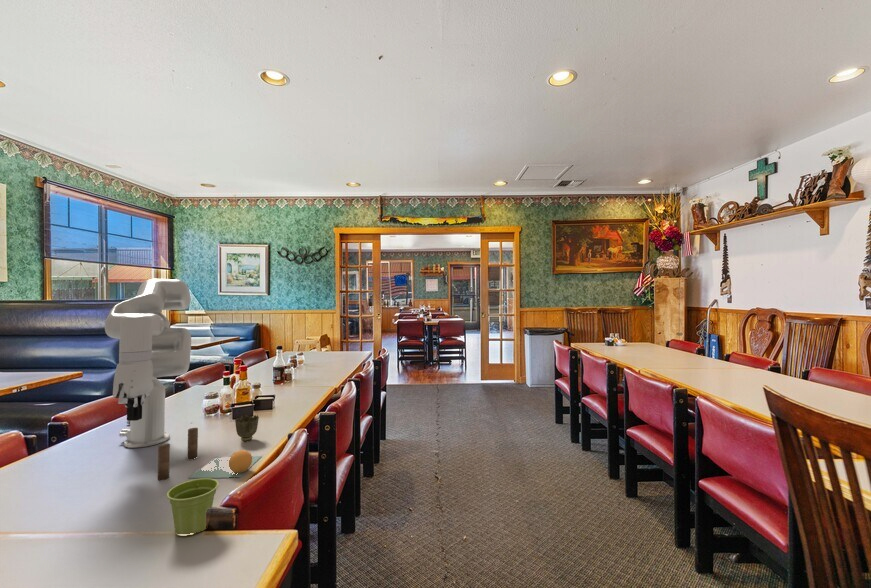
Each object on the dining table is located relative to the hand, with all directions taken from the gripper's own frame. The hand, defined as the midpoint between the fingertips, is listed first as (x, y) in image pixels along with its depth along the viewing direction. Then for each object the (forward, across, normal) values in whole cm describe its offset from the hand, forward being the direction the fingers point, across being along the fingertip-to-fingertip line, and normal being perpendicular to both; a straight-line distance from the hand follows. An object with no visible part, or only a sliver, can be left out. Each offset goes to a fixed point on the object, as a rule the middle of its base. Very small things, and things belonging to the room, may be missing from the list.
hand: (134, 419), depth 109 cm
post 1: (+14, +6, +13) cm, 20 cm away
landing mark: (+14, 0, +27) cm, 30 cm away
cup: (+14, -21, +23) cm, 34 cm away
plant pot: (+14, +30, +35) cm, 48 cm away
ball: (+11, +3, +32) cm, 34 cm away
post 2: (+14, -6, +13) cm, 20 cm away
